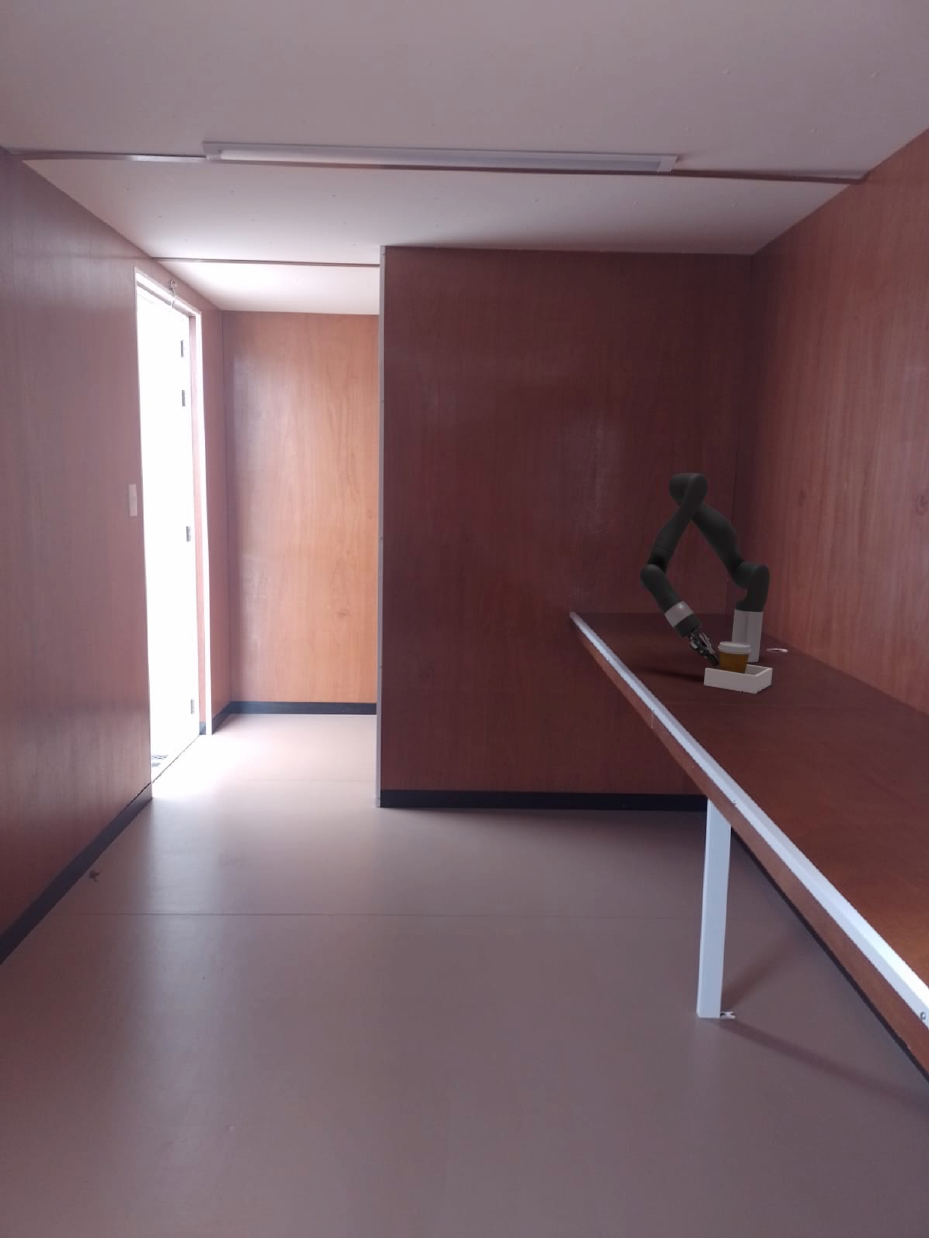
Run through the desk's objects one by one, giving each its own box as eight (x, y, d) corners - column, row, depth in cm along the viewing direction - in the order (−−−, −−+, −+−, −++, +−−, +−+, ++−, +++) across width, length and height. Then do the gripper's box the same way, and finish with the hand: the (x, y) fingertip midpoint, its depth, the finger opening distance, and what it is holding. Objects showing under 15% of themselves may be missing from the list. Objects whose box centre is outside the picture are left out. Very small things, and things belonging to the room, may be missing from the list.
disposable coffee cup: (752, 688, 261) (756, 648, 259) (719, 686, 261) (723, 646, 259) (742, 681, 270) (746, 642, 268) (710, 679, 270) (714, 640, 268)
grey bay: (721, 676, 276) (722, 660, 275) (770, 684, 267) (772, 668, 267) (703, 685, 262) (705, 668, 262) (755, 693, 254) (756, 676, 253)
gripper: (684, 614, 265) (720, 661, 260) (700, 610, 276) (735, 655, 271) (665, 629, 269) (701, 676, 264) (681, 624, 279) (716, 669, 274)
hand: (718, 665), depth 267 cm, fingers closed
